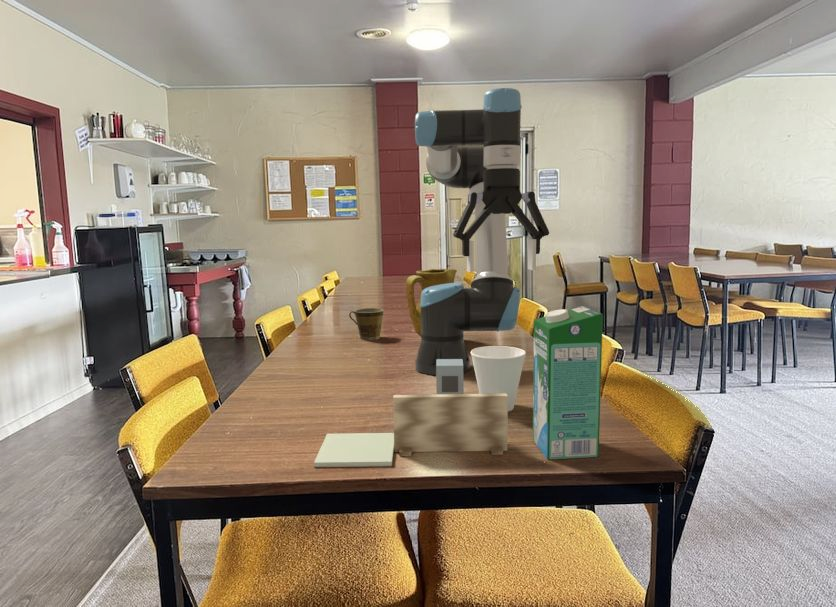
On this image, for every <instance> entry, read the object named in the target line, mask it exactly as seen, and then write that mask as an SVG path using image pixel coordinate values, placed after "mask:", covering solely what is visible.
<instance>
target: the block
mask: <svg viewBox="0 0 836 607" xmlns="http://www.w3.org/2000/svg"><path fill="white" fill-rule="evenodd" d="M435 377H436V380H435V381H436V382H435V384H436V394H465V393H464V373H463V359H437V360H436V375H435Z"/></svg>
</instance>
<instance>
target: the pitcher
mask: <svg viewBox="0 0 836 607" xmlns="http://www.w3.org/2000/svg"><path fill="white" fill-rule="evenodd" d="M457 271H458V270H457V269H454V268H430V269H425V270H417V271H415V274H416V275H415V274H414V275H410V276H408V277H407V278H406V282H405V291H406V301H407V307H408V308H409V317H410V319H411V321H412V322H411V323H412V326H413V327H414V332H415V334H417V335H418V336H419V337H421V307H420V304H421V293H422V291H423V290H424V289H425V288H427V287H431V286H435V285H440V284H447V283H455V278H456V273H457ZM417 283H418V284H419V285H420V286H419V287H420V290H419V291H420V292H419V298H418V302H417V305H416V301H415V300H416V299H415V294H414V293H415V285H416V284H417Z"/></svg>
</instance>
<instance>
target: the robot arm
mask: <svg viewBox="0 0 836 607" xmlns="http://www.w3.org/2000/svg"><path fill="white" fill-rule="evenodd" d="M521 103H522V102H521V92H520V90H518V89H516V88H511V87H499V88H493V89H489V90H487V91H486V92H485V93H484V95H483V105H482V109H459V110H458V109H456V110H455V109H453V110H450V109H449V110H432V109H429V110H426V111H425V110H423V111H418V112H416V114H415V117H414V133H415V134H414V135H415V144H416V145H417V146H419V147H425V148H426V149H427V156H426V158H425V159H426V160H425V166H426V169H427V172H428V174H429V175H430V176H431V177H432V178H433V179H434V180H435V181H436V182H438V183H441V185H444V186H447V187H450V188H455V189H469V192H468V197H467V204H466V205H465V208H464V210H463V212H462V213H461V214H462V215H461V216H460V217H459V218H460V219H459V221H458V223H457V225H456V227H455V229H454V231H453V234H452V236H453V237H454V238H456V239H459V240H461V245H462V246H461V253H462V256H463V257H466V272H467V273H473V274H474V271H475V272H476V276H475V277H474V278H473V279H472V280H471V282H470V288H469V287H468V288H467V287H465V286H464V284H463V283H462V282H454V283H447V284H440V285H435V286H431V287H427V288H425V289H424V290H423V291H422V293H421V304H420V307H421V338H420V343H419V344H420V345H419V348H418V350H417V351H418V352H417V354H416V358H415V361H414V363H415V365H414V367H415V370H416V371H417V372H419V373H422V374H425V375H432V376H434V375H435V376H436V360H437V359H463V374H464V373H467V372H468V371H470V369H471V359H470V357H469V354H468V350H467V348H466V344H465V341H464V332H497V333H498V332H501V331H503V332H504V331H505V332H506V331H511V330H513V329H514V328H515V327H516V325H517V321H518V315H519V309H520V299H521V298H520V297H521V296H520V295H521V293H520V291H521V290H520V288H519V287H517V286H515V285H514V284H515V283H514V279H512V277H511V276H509V275H508V272H509V271H508V244H507V241H508V240H507V217H506V216H507V215H509V214H512V215H513V216H514V217H515V218H516V219H517V221H518V223H520V224H521V225H522V227H523V228H524V229H525V231H526V232H527V233H528V235H529V236H530V237H531V238H528V239H527V270H528V271H529V270H530V271H536V269H537V254H538V255H540V252H541V239H542V238H544V237H546V236H549V234H550V231H549V228H548V227H547V224H546V222H545V220H544V217H543V215H542V213H541V211H540V209H539V207H538V204H537V201H536V194H535V192H534V191H526V192H524V193H521V170H520V169H519V168H518V167H520V166H521V115H522V113H521V112H522V111H521V109H522V104H521ZM458 146H459V147H458ZM460 146H461V147H460ZM464 146H465V147H464ZM466 146H467V147H466ZM521 200H523V202H524V203H525V204H526V207H527V209H528V210H529V213H530V215H531V218H532V220H533V222H534V224H533V223H532V222H531V220H530V219H529V218H528V217H527V215H526V214H525V213H524V211H523V209H522V208H521V207H520V206H519V203H521ZM474 211H475V212H474ZM473 212H474V214H475V215H474V218H475V219H474V220H473V221H472V223H470V225H469V227H468V228H467V225H468V223H469V221H470V219H471V216H472V214H473ZM535 226H536V227H535ZM466 228H467V229H466ZM464 231H465V232H464ZM474 235H475V242H474V240H471V238H472V237H473V236H474ZM474 243H475V254H474ZM474 255H475V257H474ZM474 258H475V262H474ZM474 263H475V266H476V267H475V268H474ZM475 269H476V270H475ZM514 286H515V287H514Z"/></svg>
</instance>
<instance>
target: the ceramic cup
mask: <svg viewBox="0 0 836 607" xmlns="http://www.w3.org/2000/svg"><path fill="white" fill-rule="evenodd" d="M352 314H354V315H355V316H354V317H355V319H356V320H355V319H354V318H353V317H352V316H351V315H352ZM348 316H349V318H350V320H352V321H353V323H355V325H356V326H357V329H358V333H359V338H360V340H363V341H375V340H379V339H380V337H381V331H382V323H383V317H384V309H382V308H378V307H377V308H376V307H369V308H368V307H367V308H359V309H355V310H353V311H352V310H351V311H350V312H349V315H348Z"/></svg>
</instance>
